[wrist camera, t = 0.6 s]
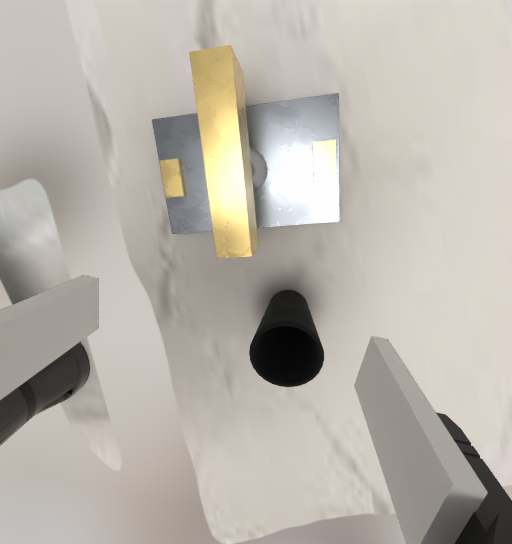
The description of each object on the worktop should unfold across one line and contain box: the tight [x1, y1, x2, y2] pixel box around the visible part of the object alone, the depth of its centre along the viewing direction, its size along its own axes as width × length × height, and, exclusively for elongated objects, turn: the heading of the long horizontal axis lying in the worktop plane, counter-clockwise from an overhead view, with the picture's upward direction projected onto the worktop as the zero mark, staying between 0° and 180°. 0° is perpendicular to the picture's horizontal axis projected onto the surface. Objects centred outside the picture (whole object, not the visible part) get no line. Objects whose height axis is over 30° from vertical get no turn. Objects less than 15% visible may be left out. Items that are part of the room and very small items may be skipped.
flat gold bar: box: [189, 45, 258, 258], centre depth 26 cm, size 3×16×7 cm, turn 5°
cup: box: [249, 290, 324, 387], centre depth 34 cm, size 8×8×12 cm
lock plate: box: [152, 93, 339, 234], centre depth 32 cm, size 22×14×6 cm, turn 95°
